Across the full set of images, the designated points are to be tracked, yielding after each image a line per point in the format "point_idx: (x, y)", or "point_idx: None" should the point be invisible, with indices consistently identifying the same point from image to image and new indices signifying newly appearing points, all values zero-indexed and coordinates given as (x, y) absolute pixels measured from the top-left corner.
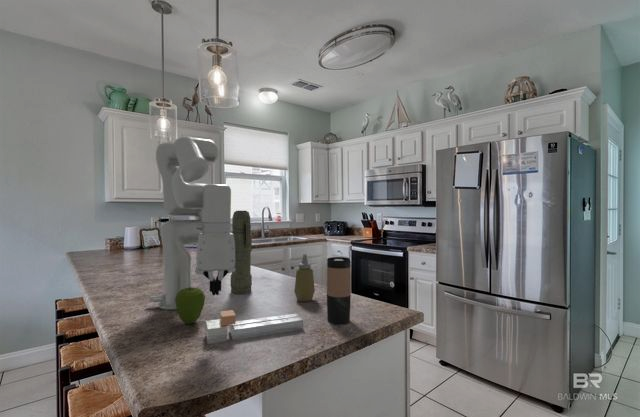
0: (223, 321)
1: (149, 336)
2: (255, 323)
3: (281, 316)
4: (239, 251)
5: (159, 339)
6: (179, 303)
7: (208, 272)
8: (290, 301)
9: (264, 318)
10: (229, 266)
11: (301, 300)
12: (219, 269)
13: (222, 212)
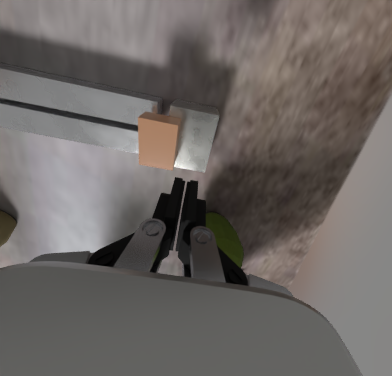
0: (176, 121)
1: (281, 199)
2: (94, 113)
3: (22, 124)
4: None
5: (276, 181)
6: (239, 243)
7: (223, 278)
8: (31, 222)
9: (70, 134)
10: (18, 290)
11: (3, 214)
12: (144, 276)
13: None
